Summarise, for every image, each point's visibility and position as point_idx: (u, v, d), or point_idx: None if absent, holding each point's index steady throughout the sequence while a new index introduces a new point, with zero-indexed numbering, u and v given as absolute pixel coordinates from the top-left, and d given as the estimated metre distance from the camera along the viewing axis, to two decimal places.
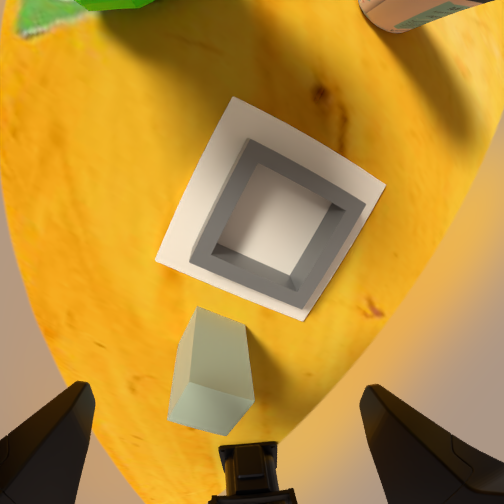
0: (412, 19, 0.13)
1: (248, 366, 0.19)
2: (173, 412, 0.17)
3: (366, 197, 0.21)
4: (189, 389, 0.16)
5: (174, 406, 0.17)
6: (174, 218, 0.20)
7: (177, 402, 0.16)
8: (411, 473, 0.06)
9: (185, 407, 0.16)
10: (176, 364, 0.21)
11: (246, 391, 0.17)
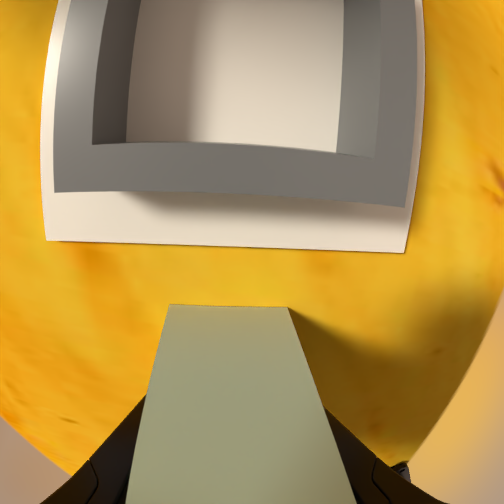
0: None
1: (319, 417, 0.06)
2: None
3: None
4: None
5: None
6: (43, 137, 0.08)
7: None
8: None
9: None
10: None
11: None
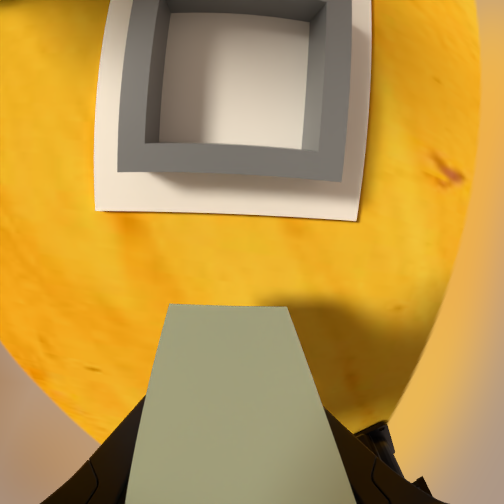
0: None
1: (319, 417, 0.06)
2: None
3: (353, 7, 0.11)
4: None
5: None
6: (96, 136, 0.12)
7: None
8: None
9: None
10: None
11: None
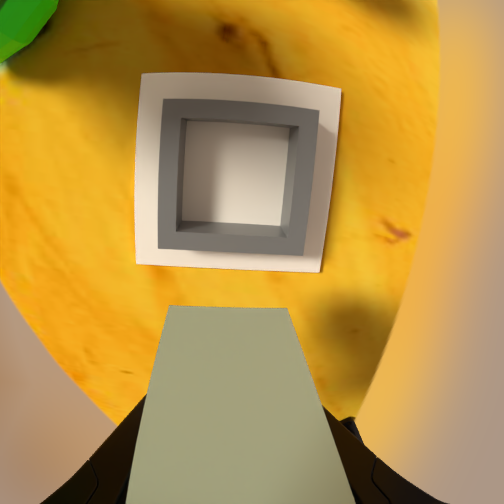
0: None
1: (319, 419, 0.06)
2: None
3: (325, 110, 0.17)
4: None
5: None
6: (136, 213, 0.18)
7: None
8: None
9: None
10: None
11: None
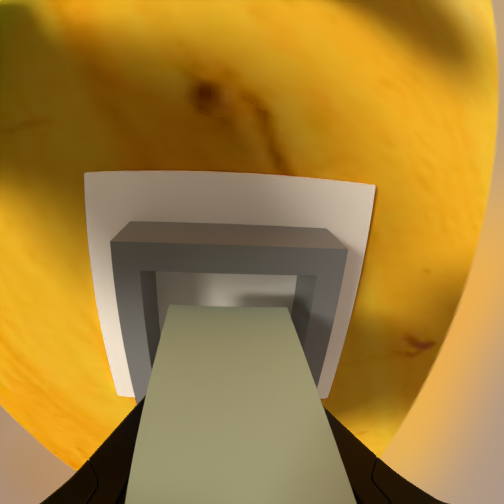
0: None
1: (320, 419, 0.06)
2: None
3: (351, 220, 0.13)
4: None
5: None
6: (108, 350, 0.14)
7: None
8: None
9: None
10: None
11: None
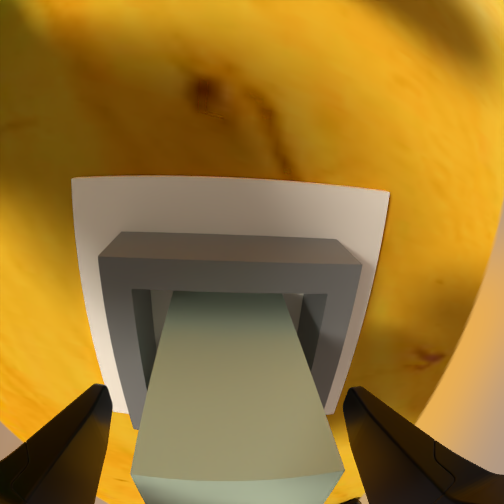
0: None
1: (304, 374, 0.08)
2: None
3: (363, 229, 0.12)
4: (148, 488, 0.05)
5: None
6: (101, 367, 0.13)
7: None
8: (392, 479, 0.06)
9: None
10: None
11: (313, 449, 0.05)
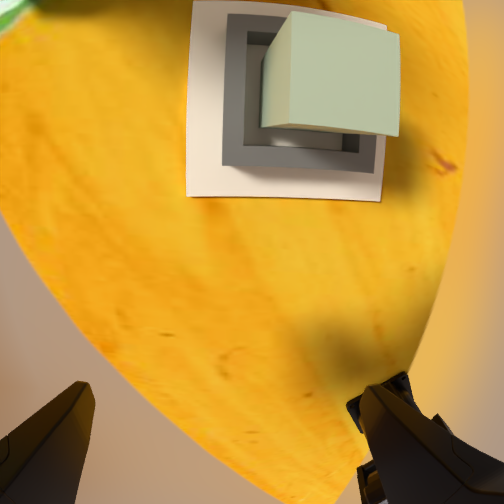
0: None
1: None
2: (293, 94, 0.09)
3: None
4: (298, 26, 0.08)
5: (289, 80, 0.09)
6: (188, 138, 0.16)
7: (291, 65, 0.09)
8: (411, 473, 0.06)
9: (309, 72, 0.09)
10: (266, 118, 0.14)
11: None
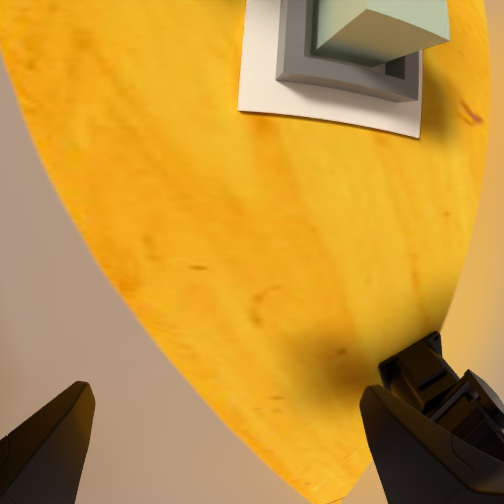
0: None
1: None
2: None
3: None
4: None
5: None
6: (244, 56, 0.15)
7: None
8: (411, 473, 0.06)
9: None
10: (326, 35, 0.13)
11: None
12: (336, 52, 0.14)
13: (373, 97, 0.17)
